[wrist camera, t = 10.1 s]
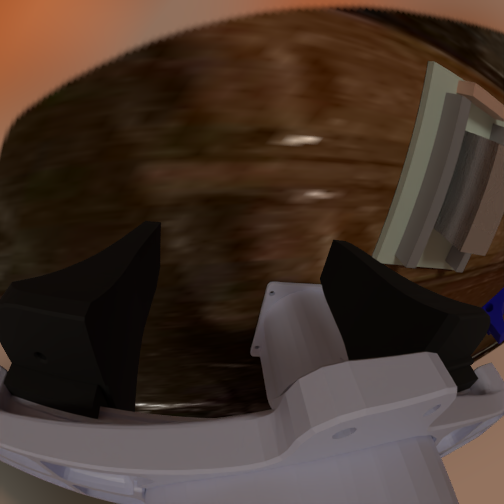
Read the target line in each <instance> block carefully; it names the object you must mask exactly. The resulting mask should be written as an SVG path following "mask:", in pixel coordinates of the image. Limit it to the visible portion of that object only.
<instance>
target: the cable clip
mask: <svg viewBox="0 0 504 504" xmlns="http://www.w3.org/2000/svg"><path fill="white" fill-rule="evenodd" d="M482 309H484V310H485V311H486V312H487V314H488V315H489V316H490V320H491V321H490V326H489V329H488V331H487V334H488V335H490V334H492V335H493V337H494V338H495V339H496V341H497V342H498V343H499V344H500V343H501V342H502V341H503V340H504V321H503V317H502V316H503V313H504V288H503V289H502V290H501V291H500V292H499V293H498V294H497V295H495V296H494V297H493V298H492V299H491V300H490V301H489V302H488V303H487V304H485V305H484V306H483V307H482Z"/></svg>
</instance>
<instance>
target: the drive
mask: <svg viewBox="0 0 504 504" xmlns="http://www.w3.org/2000/svg"><path fill="white" fill-rule="evenodd" d="M503 213H504V147H503V146H502V145H501V144H499V143H497V142H494V141H492V140H489V139H487V138H484V137H482V136H479V135H476V134H474V133H471V132H468V131H465V134H464V137H463V141H462V145H461V149H460V152H459V156H458V159H457V163H456V166H455V169H454V172H453V175H452V179H451V182H450V185H449V188H448V190H447V193H446V196H445V199H444V202H443V204H442V207H441V210H440V212H439V215H438V218H437V220H436V223H435V225H434V229H435V230H436V231H438V232H439V233H440V234H441V235H442V236H443V237H445V238H446V239H447V240H448V241H449V242H450V243H451V244H452V245H454V246H455V247H456V248H457V249H458V250H459V251H460V252H465V253H471V254H477V255H483V256H485V255H486V253H487V251H488V249H489V246H490V244H491V242H492V240H493V238H494V235H495V233H496V231H497V228H498V226H499V223H500V221H501V218H502V216H503Z"/></svg>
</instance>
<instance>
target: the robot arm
mask: <svg viewBox="0 0 504 504" xmlns="http://www.w3.org/2000/svg"><path fill="white" fill-rule="evenodd" d="M160 232H161V222H150V221H145V222H144V223H142V224H141V225H139V226H138V227H137V228H135V229H134V230H133V231H131V232H130V233H128V234H127V235H126V236H124V237H123V238H122V239H120V240H119V241H117V242H115V243H114V244H112V245H111V246H109V247H108V248H106V249H105V250H103V251H101V252H100V253H98V254H96V255H94V256H92V257H90V258H88V259H86V260H84V261H82V262H79V263H77V264H75V265H72V266H70V267H67V268H65V269H62V270H59V271H56V272H53V273H50V274H46V275H43V276H39V277H35V278H30V279H25V280H20V281H15V282H12V283H11V285H10V286H9V287H8V289H7V290H6V292H5V293H4V295H3V296H2V297H1V299H0V343H1V345H2V347H3V348H4V350H5V352H6V354H7V356H8V357H9V359H10V360H11V362H12V364H11V366H10V369H9V371H7V370H6V369H4V368H3V367H2V366H0V461H2V462H4V463H7V464H8V465H11V466H13V467H15V468H17V469H19V470H22V471H24V472H26V473H28V474H31V475H33V476H35V477H37V478H40V479H42V480H45V481H47V482H50V483H53V484H55V485H58V486H61V487H64V488H66V489H69V490H72V491H75V492H78V493H81V494H84V495H88V496H91V497H94V498H98V499H102V500H106V501H110V502H114V503H118V504H459V503H458V500H457V498H456V495H455V492H454V489H453V487H452V484H451V482H450V479H449V477H448V474H447V471H446V469H445V467H444V464H443V462H442V459H441V458H442V457H444V456H446V455H448V454H449V453H451V452H453V451H455V450H456V449H458V448H460V447H462V446H463V445H465V444H467V443H469V442H470V441H472V440H474V439H475V438H477V437H479V436H480V435H481V434H482V433H484V432H485V431H486V430H487V429H489V428H490V427H491V426H492V425H493V424H494V423H496V422H497V421H498V420H499V419H500V418H501V417H502V416H503V415H504V381H503V379H502V378H501V376H500V375H499V373H498V371H497V370H496V368H495V367H494V365H493V364H492V363H488V364H485V365H482V366H480V367H478V368H476V369H475V370H474V371H473V369H472V367H471V366H470V365H472V364H473V363H474V360H473V359H472V357H471V356H470V355H471V354H472V353H473V352H474V350H475V349H476V348H477V346H478V345H479V344H480V342H481V341H482V340H483V338H484V336H485V335H486V333H487V331H488V329H489V326H490V321H491V320H490V316H489V315H488V314H487V312H486V311H485V310H484V309H482V308H480V307H477V306H473V305H470V304H466V303H462V302H459V301H456V300H453V299H450V298H447V297H444V296H442V295H439V294H437V293H435V292H432V291H430V290H428V289H425V288H423V287H421V286H419V285H417V284H415V283H414V282H412V281H410V280H408V279H406V278H404V277H403V276H401V275H399V274H398V273H396V272H395V271H393V270H391V269H390V268H388V267H387V266H385V265H383V264H382V263H380V262H379V261H377V260H376V259H374V258H373V257H371V256H370V255H368V254H367V253H365V252H364V251H362V250H361V249H359V248H358V247H356V246H354V245H352V244H350V243H348V242H346V241H339V240H333V242H332V245H331V248H330V251H329V254H328V257H327V260H326V263H325V266H324V268H323V271H322V274H321V277H320V280H321V284H303V283H287V282H270V283H269V284H268V285H267V288H266V292H265V296H264V300H263V304H262V308H261V312H260V315H259V319H258V323H257V327H256V331H255V335H254V338H253V342H252V346H251V350H250V354H251V356H259V357H260V359H261V364H262V370H263V376H264V382H265V387H266V393H267V399H268V402H269V405H270V407H271V408H272V410H266V411H261V412H255V413H249V414H243V415H237V416H230V417H222V418H192V417H177V416H166V415H156V414H147V413H139V412H135V397H136V384H137V373H138V364H139V356H140V348H141V341H142V336H143V331H144V327H145V324H146V320H147V317H148V313H149V310H150V306H151V303H152V300H153V296H154V293H155V290H156V286H157V281H158V275H159V269H160ZM271 291H274V292H273V293H270V292H271Z"/></svg>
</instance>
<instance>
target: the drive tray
mask: <svg viewBox="0 0 504 504" xmlns="http://www.w3.org/2000/svg"><path fill="white" fill-rule="evenodd" d="M465 131H468V132H471V133H474V134H476V135H479V136H482V137H484V138H487V139H489V140H492V141H494V142H497V143H499V144H501V145H502V146H503V147H504V105H502V104H501V103H500V102H499V101H498V100H497V99H495V98H494V97H493V96H492V95H490V94H489V93H488V92H487V91H485V90H484V89H483V88H481V87H480V86H479V85H477V84H476V83H474V82H467V81H464V80H463V79H461V78H460V77H458V76H457V75H455V74H454V73H452V72H450V71H449V70H447V69H446V68H444V67H442V66H441V65H439V64H438V63H436V62H430V61H428V66H427V72H426V77H425V82H424V87H423V92H422V97H421V102H420V106H419V111H418V115H417V119H416V123H415V127H414V131H413V135H412V139H411V143H410V146H409V150H408V153H407V157H406V160H405V164H404V167H403V170H402V174H401V177H400V180H399V183H398V186H397V189H396V192H395V195H394V198H393V201H392V204H391V207H390V210H389V213H388V216H387V219H386V221H385V224H384V227H383V229H382V232H381V235H380V237H379V240H378V243H377V245H376V248H375V250H374V253H373V255H372V257H373V258H374V259H376V260H377V261H379V262H380V263H383V264H394V265H404V266H405V267H407V268H416V267H428V268H439V269H450V270H455V271H456V272H463V270H464V268H465V266H466V264H467V262H468V260H469V258H470V256H471V253H465V252H460V251H459V250H458V249H457V248H456V247H455V246H454V245H452V244H451V243H450V242H449V241H448V240H447V239H446V238H445V237H443V236H442V235H441V234H440V233H439V232H438V231H436V230H435V229H434V225H435V223H436V220H437V218H438V215H439V212H440V210H441V207H442V204H443V202H444V199H445V196H446V193H447V190H448V188H449V185H450V182H451V179H452V175H453V172H454V169H455V166H456V163H457V159H458V156H459V152H460V149H461V145H462V141H463V137H464V134H465Z"/></svg>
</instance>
